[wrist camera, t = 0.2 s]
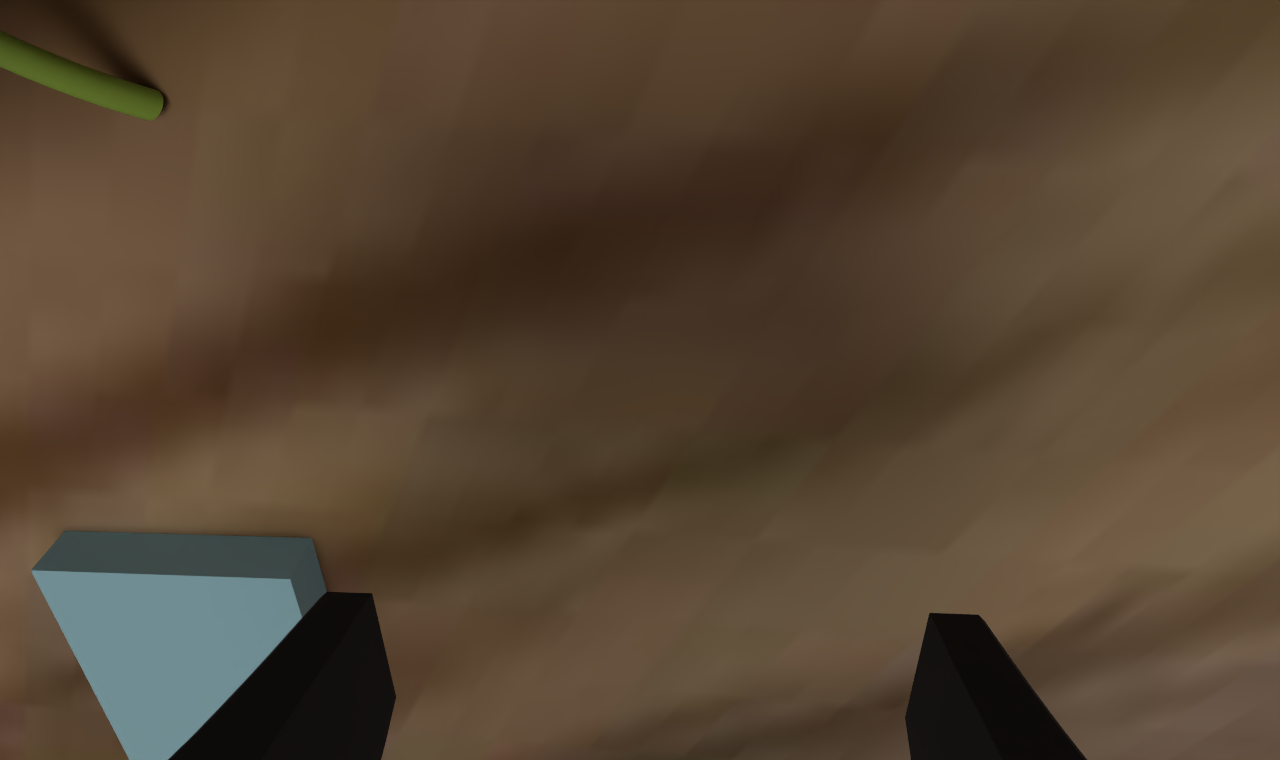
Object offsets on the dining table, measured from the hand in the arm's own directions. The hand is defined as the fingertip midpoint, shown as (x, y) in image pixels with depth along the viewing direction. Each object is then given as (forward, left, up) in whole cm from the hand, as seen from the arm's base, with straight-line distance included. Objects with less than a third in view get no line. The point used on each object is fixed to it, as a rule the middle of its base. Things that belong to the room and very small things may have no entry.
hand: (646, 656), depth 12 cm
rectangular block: (-13, +13, -10) cm, 21 cm away
